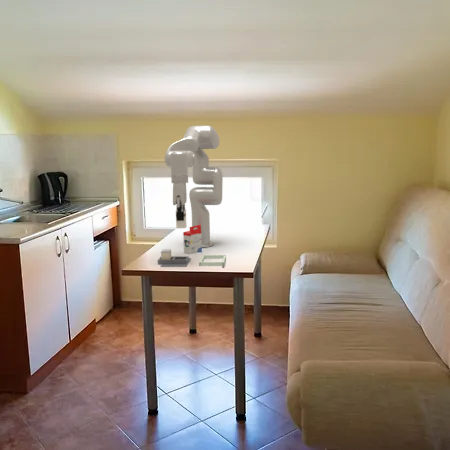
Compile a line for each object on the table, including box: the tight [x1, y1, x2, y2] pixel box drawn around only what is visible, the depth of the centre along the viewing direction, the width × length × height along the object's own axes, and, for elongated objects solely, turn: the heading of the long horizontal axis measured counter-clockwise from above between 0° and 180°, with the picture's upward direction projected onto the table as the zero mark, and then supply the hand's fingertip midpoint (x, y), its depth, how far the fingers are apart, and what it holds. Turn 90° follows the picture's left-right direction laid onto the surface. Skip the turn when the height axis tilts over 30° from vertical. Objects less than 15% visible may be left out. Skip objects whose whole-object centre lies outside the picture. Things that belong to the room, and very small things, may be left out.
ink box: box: [182, 225, 203, 255], centre depth 248 cm, size 8×5×15 cm, turn 141°
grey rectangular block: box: [175, 209, 188, 229], centre depth 225 cm, size 4×4×8 cm
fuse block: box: [157, 248, 192, 268], centre depth 228 cm, size 16×14×7 cm
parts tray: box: [198, 254, 227, 269], centre depth 228 cm, size 14×11×2 cm
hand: (181, 219), depth 225 cm, fingers closed on grey rectangular block, 4 cm apart
